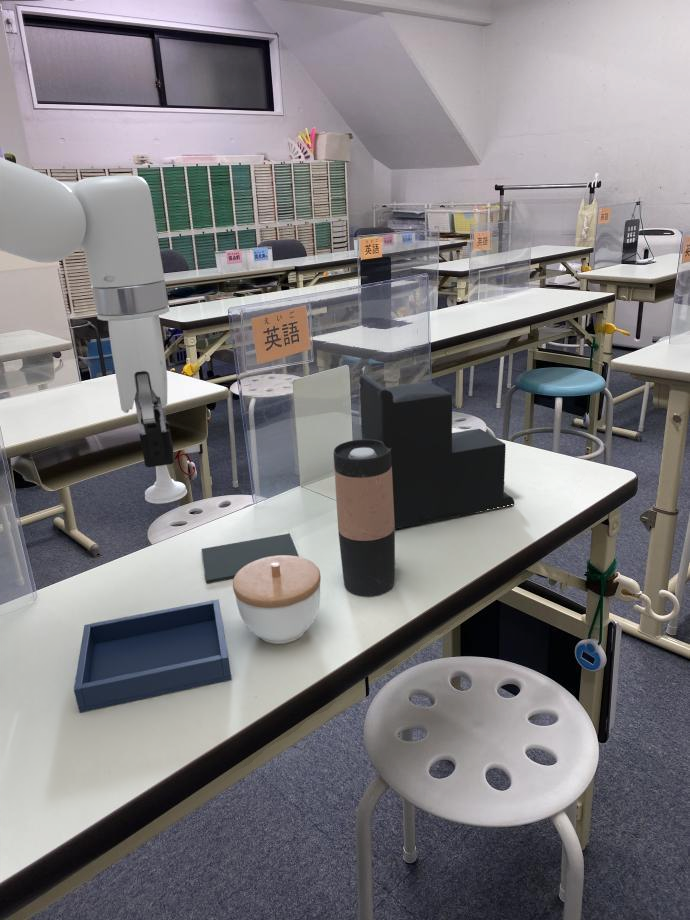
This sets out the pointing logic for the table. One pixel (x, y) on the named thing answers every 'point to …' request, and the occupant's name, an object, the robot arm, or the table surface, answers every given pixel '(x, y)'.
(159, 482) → the chess piece
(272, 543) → the mat
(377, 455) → the travel mug
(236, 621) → the table surface
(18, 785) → the table surface
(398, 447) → the bookend
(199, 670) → the tray
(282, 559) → the trinket box
